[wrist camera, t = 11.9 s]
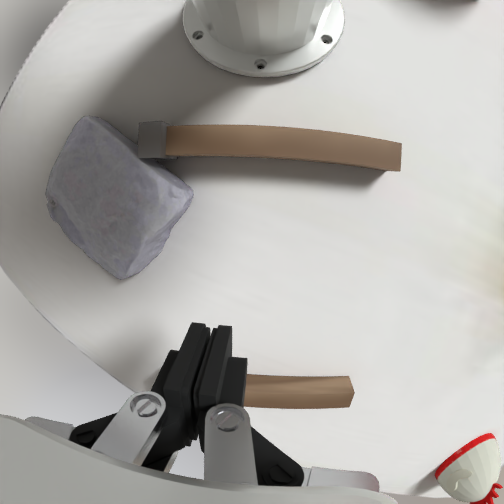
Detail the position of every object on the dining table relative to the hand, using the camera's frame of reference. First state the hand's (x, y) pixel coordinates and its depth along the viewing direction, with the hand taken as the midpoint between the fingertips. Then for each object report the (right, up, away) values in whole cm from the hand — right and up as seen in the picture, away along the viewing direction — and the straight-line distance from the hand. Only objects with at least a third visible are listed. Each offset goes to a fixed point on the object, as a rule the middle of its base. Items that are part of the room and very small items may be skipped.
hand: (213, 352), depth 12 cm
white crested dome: (+43, -35, +20) cm, 59 cm away
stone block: (-10, +9, +10) cm, 17 cm away
